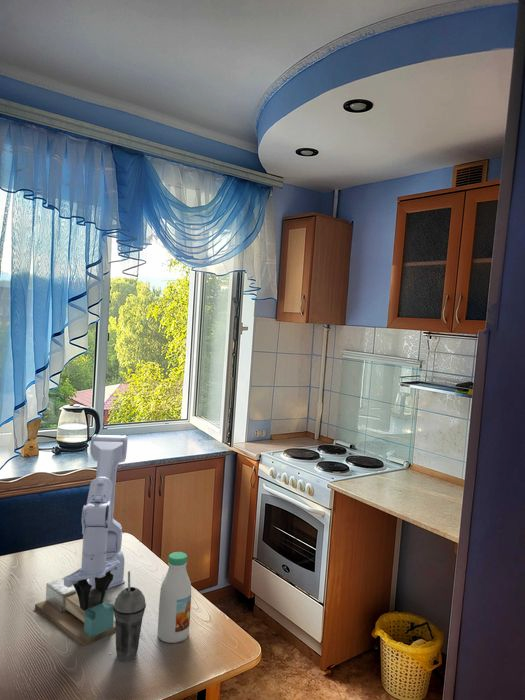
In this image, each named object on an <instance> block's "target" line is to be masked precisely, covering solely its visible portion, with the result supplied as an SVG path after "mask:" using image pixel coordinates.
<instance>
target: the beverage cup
mask: <svg viewBox="0 0 525 700" xmlns="http://www.w3.org/2000/svg"><path fill="white" fill-rule="evenodd" d="M113 605H114V607H113V609H114V621H115V630H116V631H115V651H116V652H115V653H116V659H117V660H118V661H120V662H124V663H128V662H127V661H129V662H132V661H134V660H135V659H136V658H137V657H138V655H137V654H138V650H139V643H140V638H141V637H140V636H141V630H142V625H143V624H142V623H143V617H144V614H145V610H146V608H147V604H146V598H145V595H144V593H143V592H142V591H141V590H140V589H139V588H137V587H135V586H131V571H130V570H129V571H128V572H127V587H125V588H123V589H122V590H121V591H120V592H119V593H118V594H117V596H116V598H115V601H114V604H113ZM136 656H137V657H136ZM135 657H136V658H135ZM134 658H135V659H134ZM133 659H134V660H133ZM131 660H132V661H131Z"/></svg>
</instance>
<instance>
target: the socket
mask: <svg viewBox="0 0 525 700" xmlns="http://www.w3.org/2000/svg"><path fill="white" fill-rule="evenodd" d="M113 607H114V604H113V603H111V602H109V601H108V600H107V601H105V602H104V601H103V602H102V603H101V604H99V605H96V606H94V607H91V608H89V609H87V610H85V619H84V633H85V634H86V635H88V636H89V637H90V638H91V637H94V636H96V635H98V634H100V633H102V632H105V631H107V630H109V629H111V628H113V621H115V616H114V609H113Z"/></svg>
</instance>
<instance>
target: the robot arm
mask: <svg viewBox="0 0 525 700" xmlns="http://www.w3.org/2000/svg"><path fill="white" fill-rule="evenodd" d="M90 439H91V440H90V449H89V451H90V456H91V458H92V460H93V462H96V473H95V474H96V477H95V478H94V479H92V480H91V482H90V484H89V489H88V490H89V491H88V494H87V500H86V504H84V505H83V507H82V510H81V511H82V512H81V526H82V531H81V534H82V535H83V536H82V552H81V553H82V554H81V567H80V568H78V569H77V570H75V571H73V572H72V573H70V574H68V575H66V576H64V577H63V578H64V585H65V586H66V587H71V586H72V585H73V586H74V588H75V590H76V592H77V595H78V598H79V603H80V608H81V609H82V610H84V611H85V610H87V608H88V599H89V593H90V590H92V589H94V588H96V589H97V590H99V591H100V592H102V593H101V603H104V598H105V596H106V593H107V590H108V589H112V588H113V587H114V588H115V587H116V586H119V585H121V584H123V583H124V584H125V583H126V580H125V579H124V576H125V575H124V574H125V557H124V555H125V554H124V552H122V541H123V526H122V524H121V523H120V522H118V521H117V520H116V519H114V512H115V511H114V510H115V497H116V496H115V495H116V483H117V469H118V466H119V464H121V463H123V462H125V461H126V459H127V452H128V451H127V450H128V436H127V435H126V434H124V435H115V434H114V435H113V434H112V435H111V434H97V433H95V434H93V435H92V436H91V438H90Z"/></svg>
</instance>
